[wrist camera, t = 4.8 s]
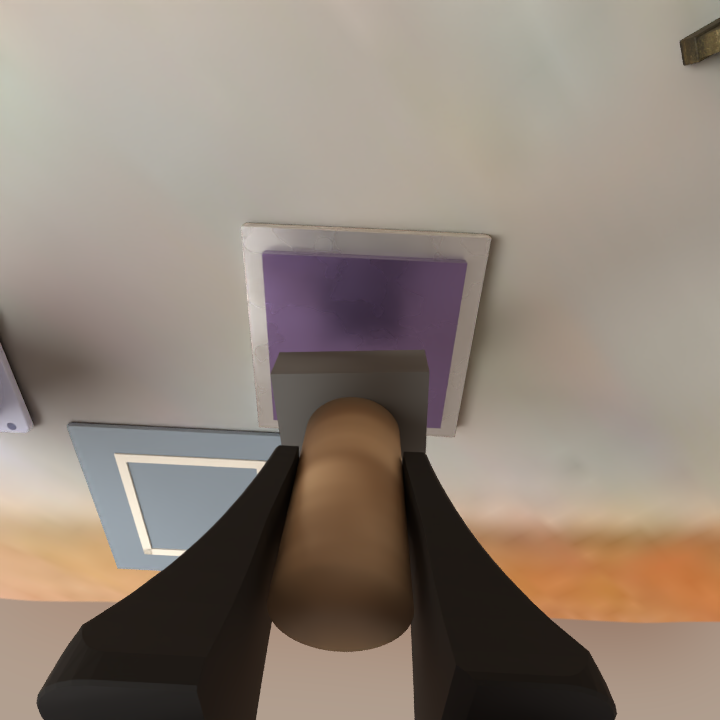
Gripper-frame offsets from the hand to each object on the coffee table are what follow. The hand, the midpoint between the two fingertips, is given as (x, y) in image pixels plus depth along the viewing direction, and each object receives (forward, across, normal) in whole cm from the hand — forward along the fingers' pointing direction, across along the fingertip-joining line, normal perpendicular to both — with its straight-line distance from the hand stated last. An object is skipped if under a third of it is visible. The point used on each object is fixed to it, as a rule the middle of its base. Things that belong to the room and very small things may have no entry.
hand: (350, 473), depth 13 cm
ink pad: (+10, 0, 0) cm, 10 cm away
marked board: (+10, +10, +13) cm, 19 cm away
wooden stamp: (+3, 0, 0) cm, 3 cm away
